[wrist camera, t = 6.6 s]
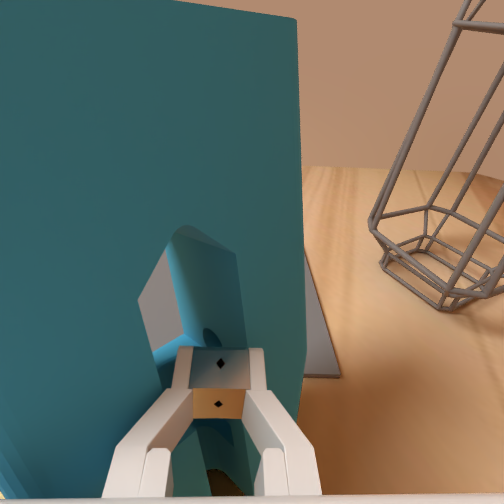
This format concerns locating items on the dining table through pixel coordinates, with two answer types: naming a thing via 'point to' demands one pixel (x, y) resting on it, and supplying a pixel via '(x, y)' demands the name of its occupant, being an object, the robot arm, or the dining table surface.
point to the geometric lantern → (395, 170)
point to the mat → (170, 327)
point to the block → (141, 227)
